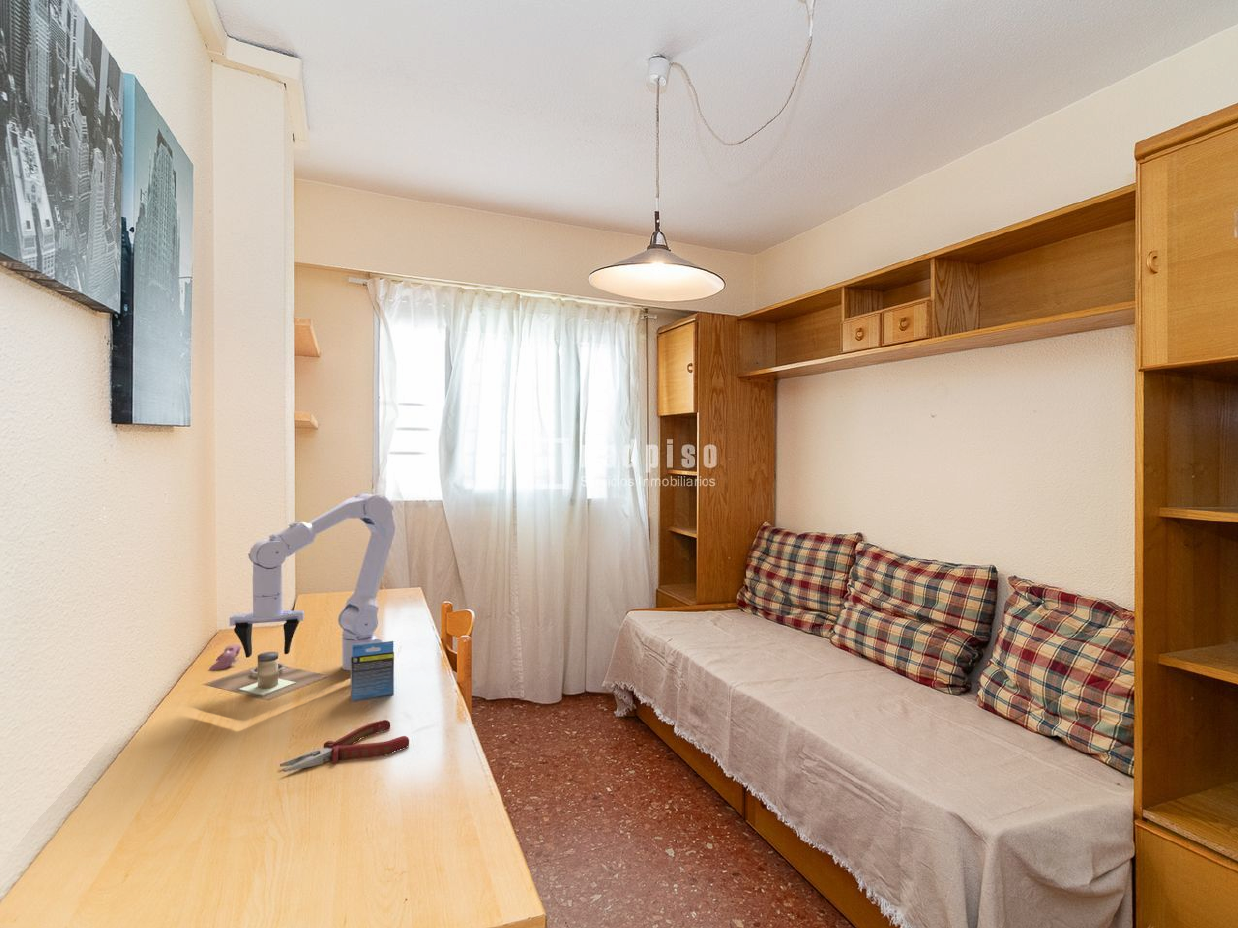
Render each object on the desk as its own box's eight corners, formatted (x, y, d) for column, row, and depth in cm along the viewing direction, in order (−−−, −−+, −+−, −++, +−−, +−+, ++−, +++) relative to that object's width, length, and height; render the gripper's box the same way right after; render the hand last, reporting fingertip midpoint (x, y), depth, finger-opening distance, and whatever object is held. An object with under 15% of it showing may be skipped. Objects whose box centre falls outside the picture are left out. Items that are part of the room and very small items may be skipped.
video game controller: (225, 681, 149) (240, 654, 150) (205, 675, 147) (220, 647, 148) (233, 668, 158) (247, 643, 159) (214, 662, 156) (228, 636, 158)
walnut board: (331, 681, 145) (331, 675, 145) (268, 706, 130) (268, 699, 130) (267, 668, 154) (267, 662, 154) (202, 690, 139) (202, 684, 139)
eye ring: (291, 670, 148) (291, 665, 148) (264, 680, 141) (264, 674, 141) (271, 666, 151) (271, 661, 151) (244, 675, 144) (244, 670, 144)
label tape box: (392, 689, 140) (392, 635, 140) (394, 695, 137) (394, 640, 137) (350, 695, 137) (350, 640, 137) (351, 701, 133) (351, 645, 133)
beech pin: (282, 683, 138) (282, 653, 138) (265, 689, 135) (265, 658, 135) (270, 681, 140) (270, 650, 140) (253, 687, 136) (253, 655, 136)
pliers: (273, 762, 108) (273, 747, 108) (387, 729, 121) (387, 716, 121) (290, 789, 99) (290, 773, 99) (411, 750, 112) (411, 736, 112)
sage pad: (296, 683, 139) (296, 682, 139) (263, 696, 132) (263, 694, 132) (272, 678, 143) (272, 676, 143) (238, 690, 135) (238, 688, 135)
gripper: (306, 588, 143) (307, 646, 143) (236, 592, 139) (236, 651, 139) (300, 594, 136) (301, 655, 137) (226, 599, 132) (226, 661, 132)
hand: (268, 654), depth 137 cm, fingers open, 7 cm apart
